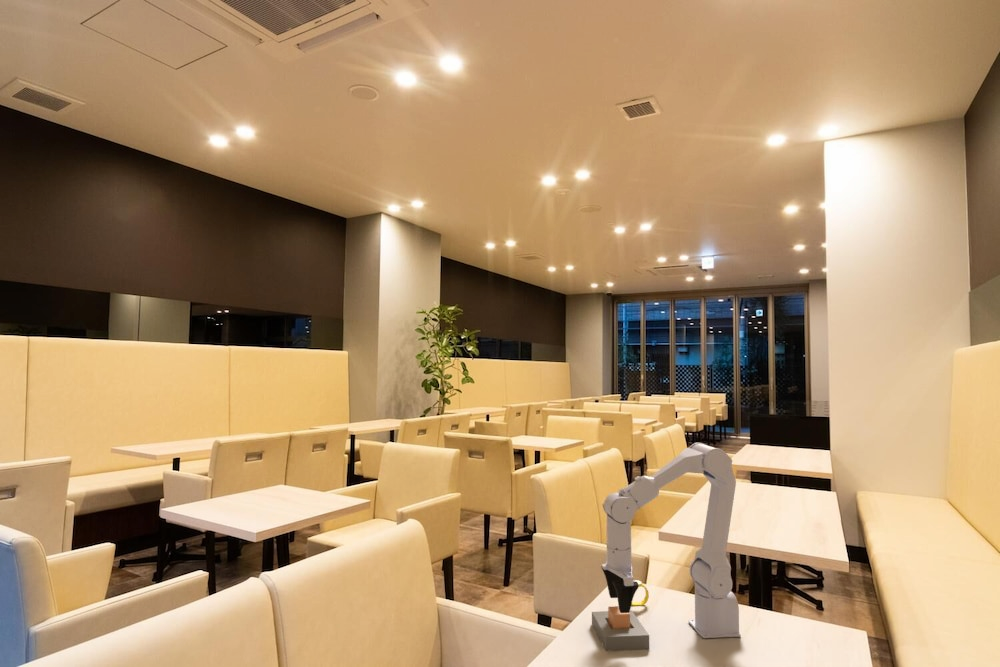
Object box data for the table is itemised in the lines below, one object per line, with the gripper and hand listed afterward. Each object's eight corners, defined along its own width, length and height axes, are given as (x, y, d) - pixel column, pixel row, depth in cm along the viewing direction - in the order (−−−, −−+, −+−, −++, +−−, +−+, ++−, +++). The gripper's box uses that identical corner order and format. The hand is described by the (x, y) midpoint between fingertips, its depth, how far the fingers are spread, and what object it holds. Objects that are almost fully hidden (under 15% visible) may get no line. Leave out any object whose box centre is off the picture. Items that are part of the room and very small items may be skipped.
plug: (624, 631, 129) (624, 606, 130) (630, 640, 125) (630, 613, 126) (608, 632, 129) (608, 606, 129) (613, 641, 125) (613, 614, 125)
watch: (628, 608, 142) (626, 585, 142) (624, 603, 145) (623, 581, 145) (650, 606, 142) (648, 583, 143) (646, 601, 145) (645, 579, 145)
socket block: (631, 622, 134) (631, 610, 134) (649, 648, 122) (649, 635, 122) (591, 624, 133) (591, 611, 133) (605, 650, 121) (605, 637, 121)
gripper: (594, 536, 135) (594, 591, 134) (611, 557, 121) (612, 620, 120) (621, 535, 136) (622, 590, 135) (642, 556, 121) (642, 618, 121)
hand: (619, 604), depth 128 cm, fingers open, 7 cm apart
